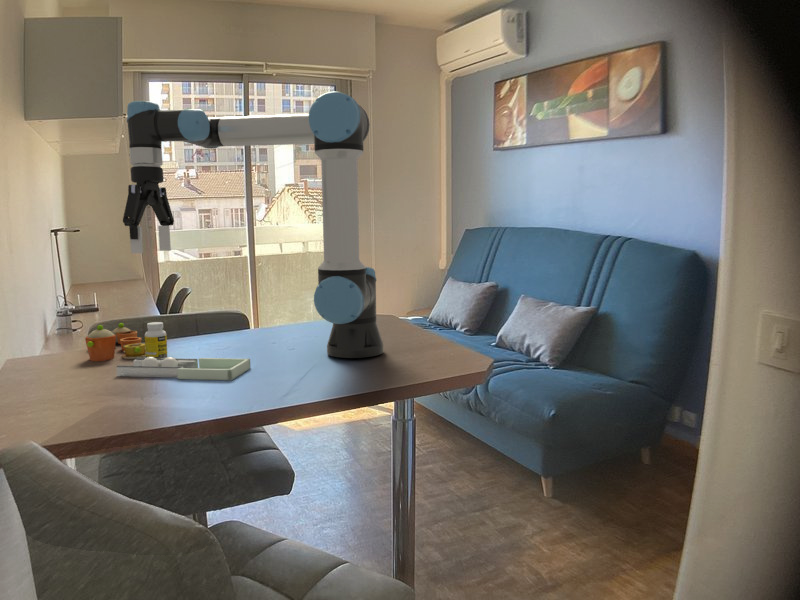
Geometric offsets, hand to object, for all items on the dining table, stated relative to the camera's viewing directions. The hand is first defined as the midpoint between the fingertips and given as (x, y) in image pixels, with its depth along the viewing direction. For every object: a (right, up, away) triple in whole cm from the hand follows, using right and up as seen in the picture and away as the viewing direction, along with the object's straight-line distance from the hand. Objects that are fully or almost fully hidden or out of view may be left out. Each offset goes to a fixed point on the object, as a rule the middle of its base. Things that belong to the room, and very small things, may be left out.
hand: (151, 252), depth 160 cm
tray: (+19, -30, -9) cm, 36 cm away
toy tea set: (-17, -28, +17) cm, 37 cm away
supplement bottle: (-2, -28, +8) cm, 29 cm away
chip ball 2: (+7, -30, -7) cm, 31 cm away
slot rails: (+4, -30, -7) cm, 31 cm away
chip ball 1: (+2, -30, -6) cm, 30 cm away
